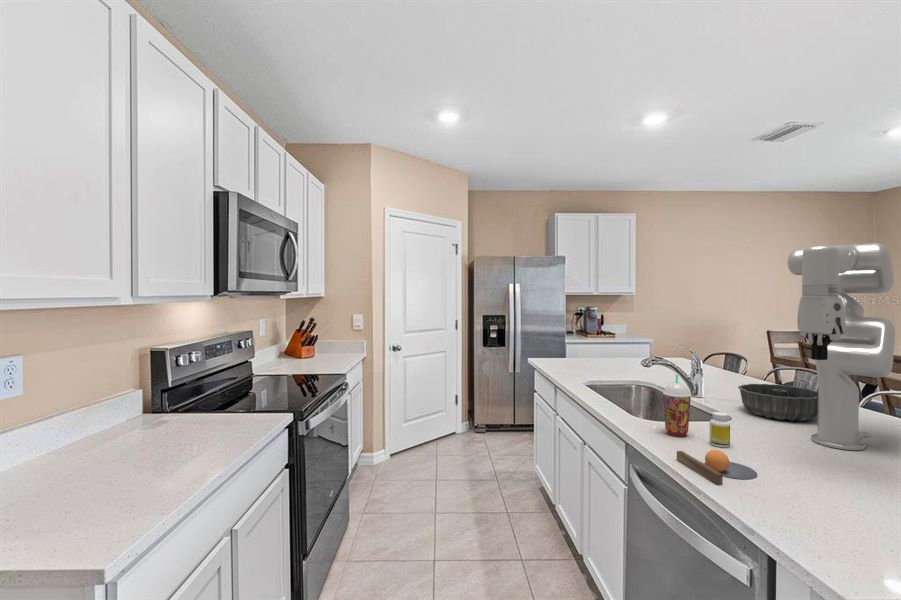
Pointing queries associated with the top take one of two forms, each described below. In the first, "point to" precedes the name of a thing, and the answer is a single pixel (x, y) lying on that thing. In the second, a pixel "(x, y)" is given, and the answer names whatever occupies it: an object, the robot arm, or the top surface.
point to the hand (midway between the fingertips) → (819, 359)
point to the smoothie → (676, 409)
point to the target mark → (738, 471)
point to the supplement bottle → (720, 430)
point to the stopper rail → (700, 468)
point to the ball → (717, 460)
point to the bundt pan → (780, 401)
